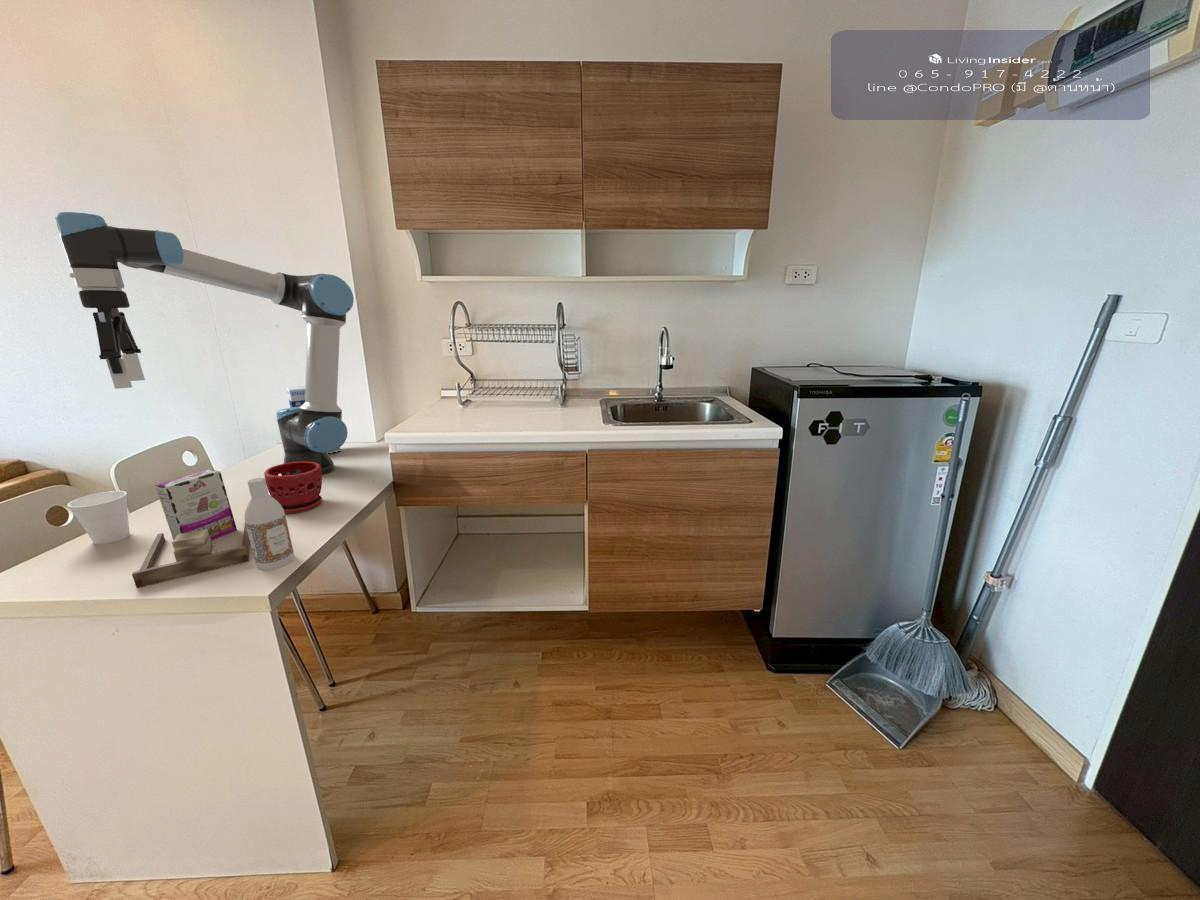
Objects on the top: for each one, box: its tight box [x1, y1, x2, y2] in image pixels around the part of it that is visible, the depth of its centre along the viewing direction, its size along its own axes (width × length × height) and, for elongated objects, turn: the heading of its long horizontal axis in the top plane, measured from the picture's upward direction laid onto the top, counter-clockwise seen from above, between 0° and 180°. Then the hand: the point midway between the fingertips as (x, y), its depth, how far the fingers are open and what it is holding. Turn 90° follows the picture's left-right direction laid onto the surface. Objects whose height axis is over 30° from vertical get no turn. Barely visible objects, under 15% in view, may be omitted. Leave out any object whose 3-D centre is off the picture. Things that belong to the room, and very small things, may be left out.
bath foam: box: [244, 477, 296, 572], centre depth 98 cm, size 7×7×20 cm
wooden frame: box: [131, 523, 251, 589], centre depth 106 cm, size 18×24×4 cm
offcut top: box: [171, 529, 210, 551], centre depth 100 cm, size 5×4×2 cm
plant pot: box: [263, 462, 323, 515], centre depth 129 cm, size 13×13×12 cm
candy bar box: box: [154, 468, 238, 541], centre depth 110 cm, size 11×5×16 cm, turn 159°
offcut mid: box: [173, 536, 213, 562], centre depth 100 cm, size 6×5×2 cm
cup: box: [66, 490, 131, 545], centre depth 111 cm, size 10×10×11 cm
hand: (131, 384), depth 110 cm, fingers open, 13 cm apart
